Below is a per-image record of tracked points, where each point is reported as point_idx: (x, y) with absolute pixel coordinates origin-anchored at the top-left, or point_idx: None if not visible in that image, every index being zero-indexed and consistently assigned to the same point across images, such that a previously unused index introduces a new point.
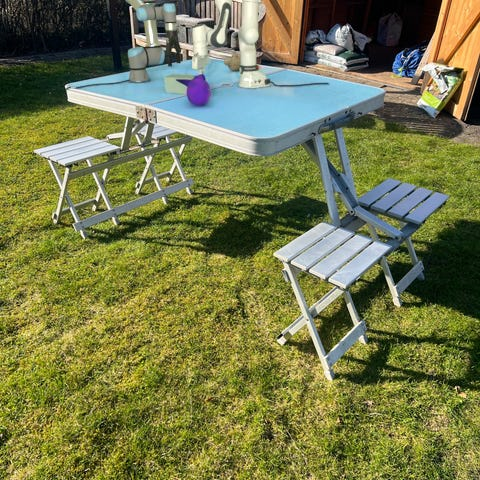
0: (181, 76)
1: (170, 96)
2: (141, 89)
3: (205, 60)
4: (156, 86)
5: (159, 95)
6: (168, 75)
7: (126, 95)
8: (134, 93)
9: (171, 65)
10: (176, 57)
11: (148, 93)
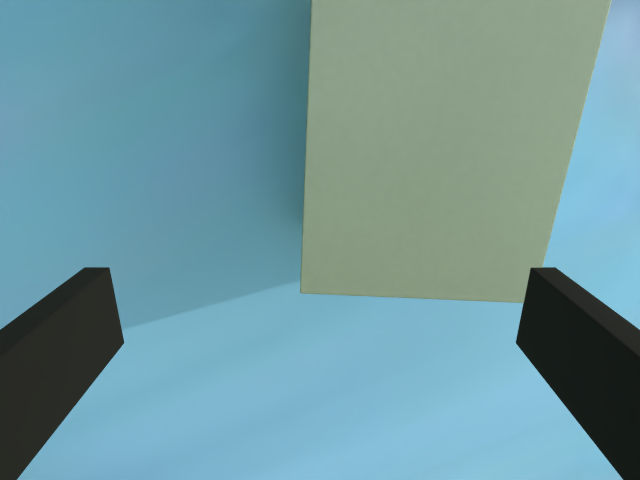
0: (470, 70)
1: (611, 125)
2: (367, 459)
3: None
4: (237, 408)
5: (569, 244)
6: (414, 297)
7: (573, 466)
8: (506, 447)
9: (567, 282)
10: (51, 424)
11: (498, 359)
